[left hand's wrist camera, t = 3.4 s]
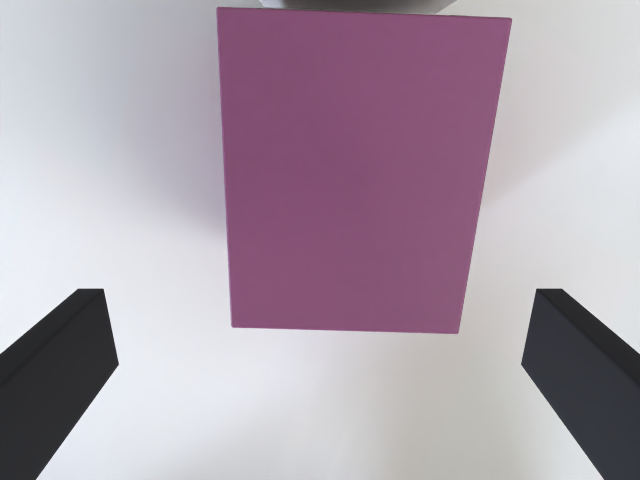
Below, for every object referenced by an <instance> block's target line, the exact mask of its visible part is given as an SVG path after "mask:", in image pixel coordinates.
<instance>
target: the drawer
mask: <svg viewBox="0 0 640 480" xmlns="http://www.w3.org/2000/svg"><path fill="white" fill-rule="evenodd" d="M455 1H456V0H260V2H261V3H262V5H263V6H264V7H273V8H300V9H327V10H354V11H380V12H407V13H434V14H436V13H438V12H439V11H441V10H442V9H444V8H445V7H447V6H449V5H450V4H452V3H453V2H455ZM261 9H270V8H261ZM450 16H457V15H450Z"/></svg>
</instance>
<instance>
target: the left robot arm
mask: <svg viewBox="0 0 640 480" xmlns="http://www.w3.org/2000/svg"><path fill="white" fill-rule="evenodd" d="M118 365H119V363H118V358H117V353H116V348H115V343H114V338H113V333H112V328H111V323H110V318H109V313H108V309H107V304H106V299H105V294H104V289H77V290H76V291H75V292H74V293H73V294H71V295H70V296H69V297H68V298H67V299H65V300H64V301H63V302H62V303H61V304H59V305H58V306H57V307H56V308H55V309H54V310H52V311H51V312H50V313H49V314H48V315H46V316H45V317H44V318H43V319H42V320H40V321H39V322H38V323H37V324H36V325H34V326H33V327H32V328H31V329H30V330H29V331H27V332H26V333H25V334H24V335H23V336H21V337H20V338H19V339H18V340H17V341H15V342H14V343H13V344H12V345H11V346H9V347H8V348H7V349H6V350H5V351H4V352H2V353H1V354H0V480H36V479H37V477H38V476H39V474H40V473H41V472H42V470H43V469H44V468H45V466H46V465H47V463H48V462H49V461H50V459H51V458H52V456H53V455H54V454H55V452H56V451H57V450H58V448H59V447H60V445H61V444H62V443H63V441H64V440H65V438H66V437H67V436H68V434H69V433H70V432H71V430H72V429H73V427H74V426H75V425H76V423H77V422H78V420H79V419H80V418H81V416H82V415H83V413H84V412H85V411H86V409H87V408H88V407H89V405H90V404H91V402H92V401H93V400H94V398H95V397H96V395H97V394H98V393H99V391H100V390H101V389H102V387H103V386H104V384H105V383H106V382H107V380H108V379H109V377H110V376H111V375H112V373H113V372H114V371H115V369H116V368H117V366H118ZM521 365H522V366H523V368H524V369H525V371H526V372H527V373H528V375H529V376H530V377H531V379H532V380H533V382H534V383H535V384H536V386H537V387H538V389H539V390H540V391H541V393H542V394H543V395H544V397H545V398H546V400H547V401H548V402H549V404H550V405H551V407H552V408H553V409H554V411H555V412H556V413H557V415H558V416H559V418H560V419H561V420H562V422H563V423H564V425H565V426H566V427H567V429H568V430H569V432H570V433H571V434H572V436H573V437H574V438H575V440H576V441H577V443H578V444H579V445H580V447H581V448H582V450H583V451H584V452H585V454H586V455H587V456H588V458H589V459H590V461H591V462H592V463H593V465H594V466H595V468H596V469H597V470H598V472H599V473H600V474H601V476H602V477H603V479H604V480H640V354H639V353H638V352H636V351H635V350H634V349H633V348H632V347H631V346H629V345H628V344H627V343H626V342H625V341H623V340H622V339H621V338H620V337H619V336H617V335H616V334H615V333H614V332H613V331H611V330H610V329H609V328H608V327H607V326H606V325H604V324H603V323H602V322H601V321H600V320H598V319H597V318H596V317H595V316H594V315H592V314H591V313H590V312H589V311H588V310H586V309H585V308H584V307H583V306H582V305H581V304H579V303H578V302H577V301H576V300H575V299H573V298H572V297H571V296H570V295H569V294H567V293H566V292H565V291H564V290H563V289H536V294H535V299H534V304H533V309H532V313H531V318H530V323H529V328H528V333H527V338H526V343H525V348H524V353H523V358H522V363H521Z"/></svg>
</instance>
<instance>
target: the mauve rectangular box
mask: <svg viewBox="0 0 640 480" xmlns="http://www.w3.org/2000/svg"><path fill="white" fill-rule="evenodd" d="M511 23H512V19H511V18H502V17H476V16H449V15H422V14H395V13H368V12H342V11H315V10H288V9H261V8H234V7H218V8H217V31H218V53H219V74H220V95H221V117H222V138H223V160H224V181H225V202H226V224H227V245H228V266H229V288H230V309H231V326H232V327H233V328H268V329H303V330H338V331H373V332H408V333H443V334H458V332H459V326H460V320H461V315H462V309H463V303H464V297H465V291H466V285H467V280H468V274H469V268H470V262H471V256H472V250H473V245H474V239H475V233H476V227H477V221H478V215H479V210H480V204H481V198H482V192H483V186H484V181H485V175H486V169H487V163H488V157H489V151H490V146H491V140H492V134H493V128H494V122H495V116H496V111H497V105H498V99H499V93H500V87H501V81H502V76H503V70H504V64H505V58H506V52H507V46H508V41H509V35H510V29H511Z"/></svg>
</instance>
